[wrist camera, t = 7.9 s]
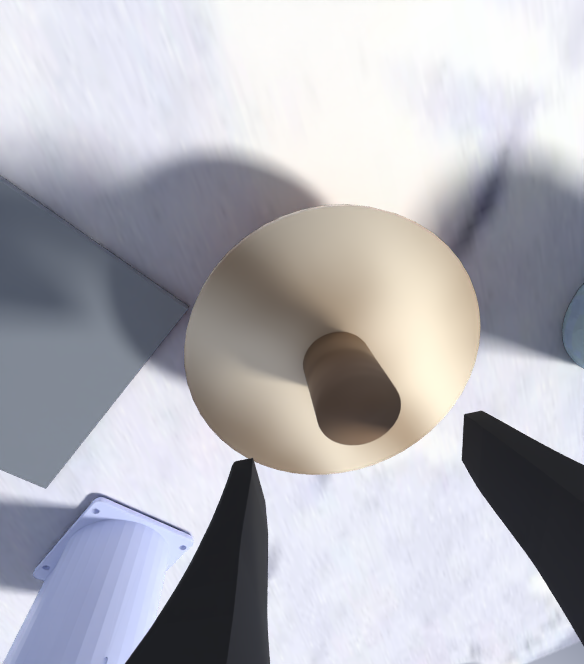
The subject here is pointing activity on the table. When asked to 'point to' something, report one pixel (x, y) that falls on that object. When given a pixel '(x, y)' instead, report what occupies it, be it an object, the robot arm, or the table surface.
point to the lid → (331, 339)
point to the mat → (65, 334)
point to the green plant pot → (575, 328)
